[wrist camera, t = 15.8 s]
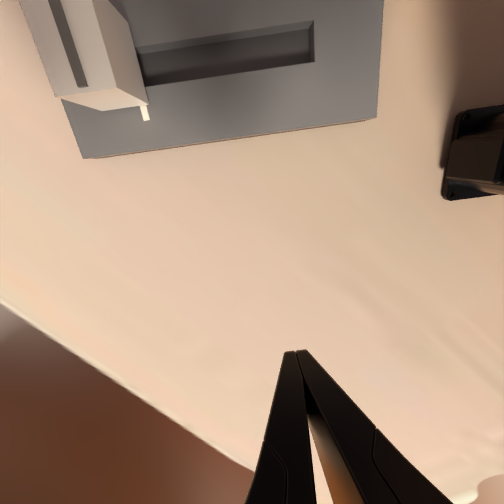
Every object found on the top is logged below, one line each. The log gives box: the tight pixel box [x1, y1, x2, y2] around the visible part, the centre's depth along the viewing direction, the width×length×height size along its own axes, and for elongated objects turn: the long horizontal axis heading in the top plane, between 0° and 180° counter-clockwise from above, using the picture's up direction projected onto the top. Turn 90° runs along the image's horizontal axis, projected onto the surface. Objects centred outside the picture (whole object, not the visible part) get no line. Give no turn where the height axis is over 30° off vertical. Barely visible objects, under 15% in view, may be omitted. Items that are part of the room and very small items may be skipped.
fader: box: [19, 0, 149, 111], centre depth 13 cm, size 3×4×5 cm
